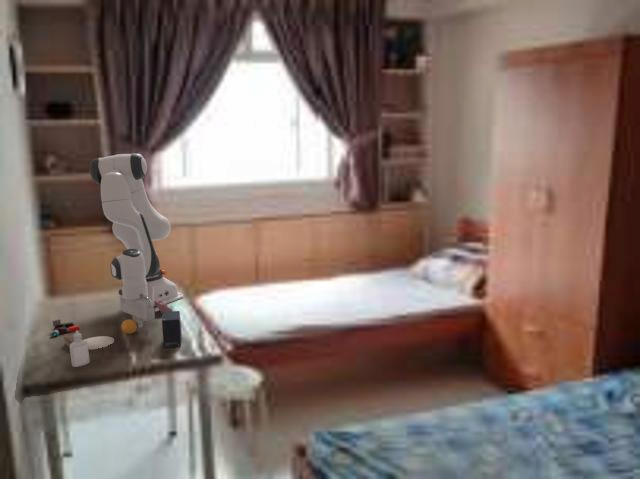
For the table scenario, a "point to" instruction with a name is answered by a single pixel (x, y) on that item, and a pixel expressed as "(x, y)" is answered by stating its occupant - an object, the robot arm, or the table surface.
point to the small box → (171, 329)
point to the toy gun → (63, 328)
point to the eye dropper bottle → (79, 351)
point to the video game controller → (162, 306)
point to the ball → (129, 326)
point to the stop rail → (68, 340)
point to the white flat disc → (99, 342)
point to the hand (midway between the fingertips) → (139, 326)
